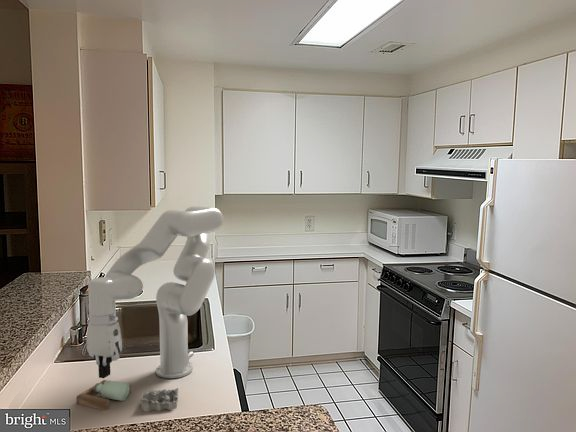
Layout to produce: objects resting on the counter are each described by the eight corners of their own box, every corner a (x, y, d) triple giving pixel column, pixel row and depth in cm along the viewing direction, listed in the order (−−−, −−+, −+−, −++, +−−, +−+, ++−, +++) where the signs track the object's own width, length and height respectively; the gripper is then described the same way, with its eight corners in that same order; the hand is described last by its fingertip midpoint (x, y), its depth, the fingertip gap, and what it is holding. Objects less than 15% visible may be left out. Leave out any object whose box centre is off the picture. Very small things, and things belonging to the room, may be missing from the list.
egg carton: (139, 413, 132) (138, 399, 131) (144, 400, 139) (144, 387, 139) (176, 411, 133) (176, 397, 133) (179, 398, 140) (179, 386, 140)
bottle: (126, 401, 140) (98, 397, 142) (131, 384, 142) (103, 380, 145) (117, 399, 135) (88, 395, 138) (123, 381, 138) (94, 377, 140)
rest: (104, 386, 147) (104, 379, 147) (131, 392, 144) (130, 385, 143) (76, 403, 136) (76, 396, 136) (104, 410, 133) (104, 402, 133)
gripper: (131, 317, 139) (132, 374, 140) (92, 312, 144) (94, 367, 145) (114, 325, 131) (115, 385, 133) (74, 319, 136) (76, 377, 138)
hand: (104, 376), depth 139 cm, fingers closed
